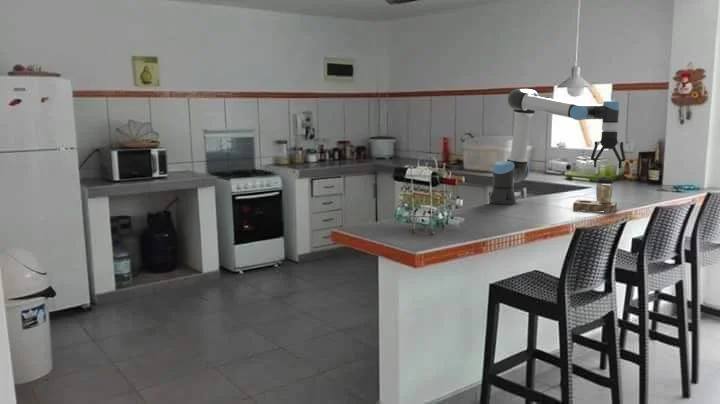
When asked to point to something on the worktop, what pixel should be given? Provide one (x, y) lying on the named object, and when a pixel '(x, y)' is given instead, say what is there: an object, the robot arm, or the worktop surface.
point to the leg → (605, 193)
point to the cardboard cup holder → (594, 206)
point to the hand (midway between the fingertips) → (607, 174)
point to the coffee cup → (599, 186)
